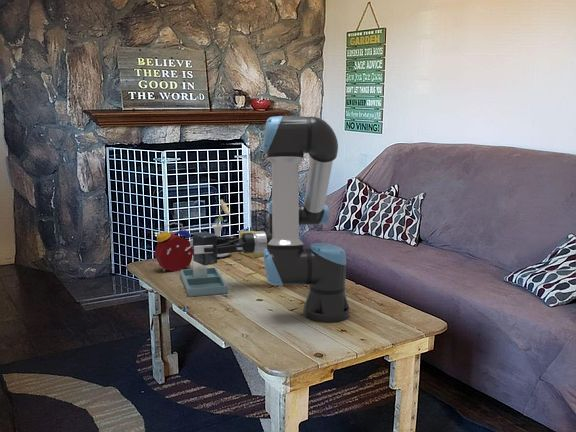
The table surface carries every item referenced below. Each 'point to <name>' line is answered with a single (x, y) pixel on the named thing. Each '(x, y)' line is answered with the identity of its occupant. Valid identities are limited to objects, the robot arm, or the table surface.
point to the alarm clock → (173, 250)
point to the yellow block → (254, 254)
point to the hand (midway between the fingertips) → (192, 246)
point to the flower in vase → (218, 226)
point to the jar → (199, 270)
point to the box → (202, 240)
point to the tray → (204, 283)
